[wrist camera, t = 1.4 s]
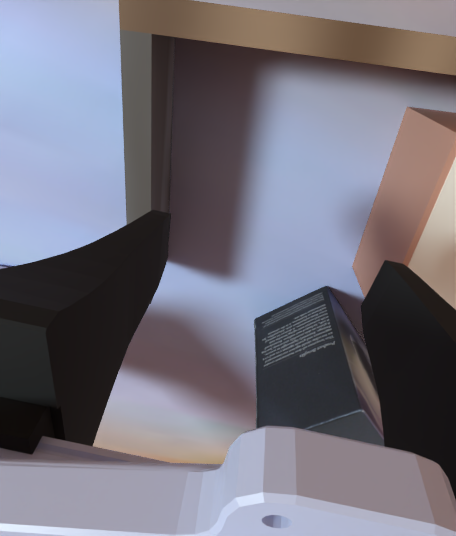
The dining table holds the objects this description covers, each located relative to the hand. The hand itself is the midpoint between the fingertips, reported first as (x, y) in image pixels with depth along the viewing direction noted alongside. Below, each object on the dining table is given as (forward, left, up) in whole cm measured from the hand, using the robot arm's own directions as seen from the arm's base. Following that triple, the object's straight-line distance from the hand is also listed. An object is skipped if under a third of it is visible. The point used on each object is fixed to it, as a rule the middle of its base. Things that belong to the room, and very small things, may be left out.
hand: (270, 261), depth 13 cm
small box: (+7, -14, -11) cm, 19 cm away
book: (+9, -1, -11) cm, 14 cm away
